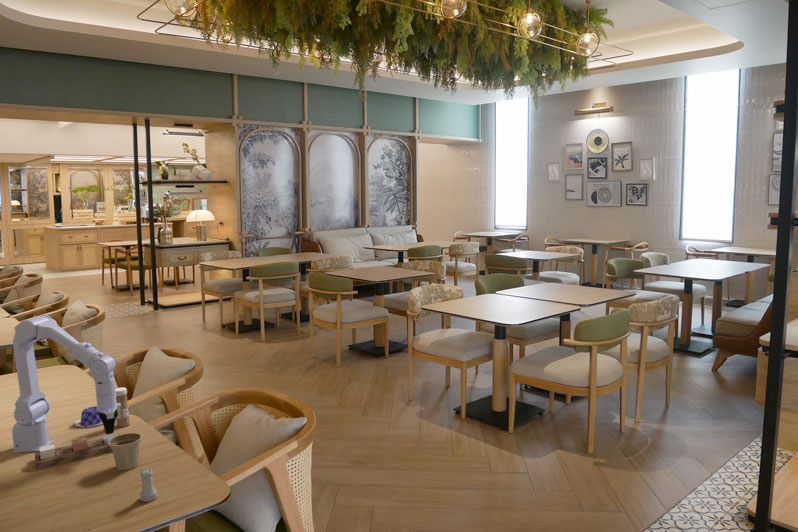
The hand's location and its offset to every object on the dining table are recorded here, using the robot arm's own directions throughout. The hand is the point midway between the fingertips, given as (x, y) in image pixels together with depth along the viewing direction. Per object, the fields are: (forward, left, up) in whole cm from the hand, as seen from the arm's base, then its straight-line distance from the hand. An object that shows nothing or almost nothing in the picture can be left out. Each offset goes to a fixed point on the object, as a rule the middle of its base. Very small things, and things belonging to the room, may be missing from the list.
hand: (109, 433), depth 202 cm
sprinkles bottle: (-4, +19, -5) cm, 20 cm away
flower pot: (+11, -15, -5) cm, 19 cm away
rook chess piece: (+25, -36, -5) cm, 44 cm away
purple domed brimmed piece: (-17, +24, -5) cm, 30 cm away
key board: (-8, -5, -5) cm, 10 cm away
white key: (-15, -9, -3) cm, 18 cm away
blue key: (0, 0, -4) cm, 5 cm away
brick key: (-8, -5, -3) cm, 9 cm away
